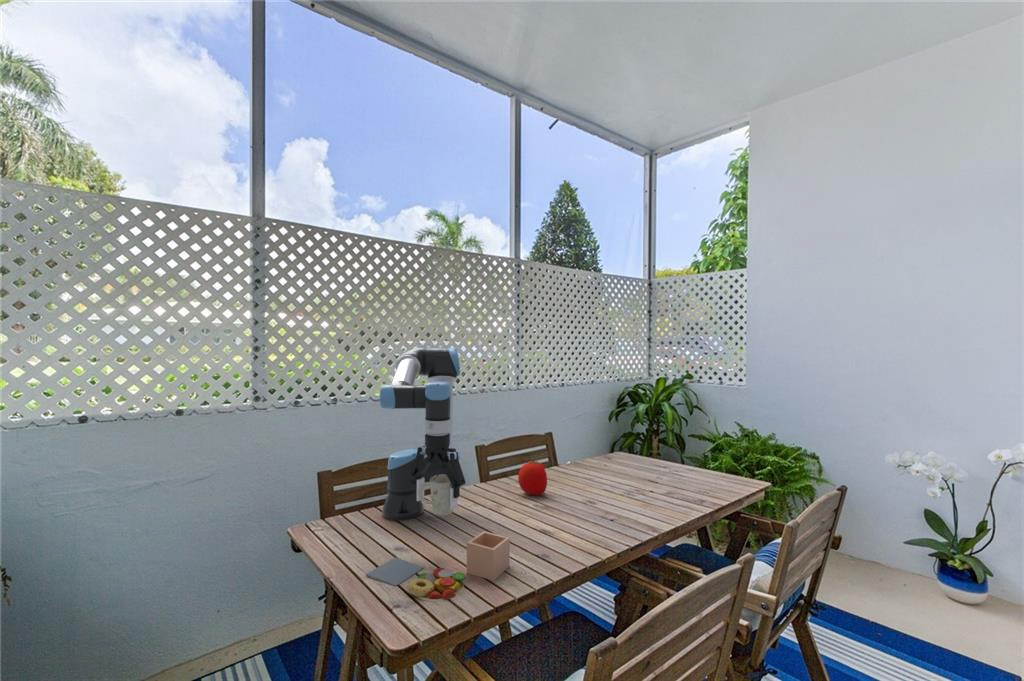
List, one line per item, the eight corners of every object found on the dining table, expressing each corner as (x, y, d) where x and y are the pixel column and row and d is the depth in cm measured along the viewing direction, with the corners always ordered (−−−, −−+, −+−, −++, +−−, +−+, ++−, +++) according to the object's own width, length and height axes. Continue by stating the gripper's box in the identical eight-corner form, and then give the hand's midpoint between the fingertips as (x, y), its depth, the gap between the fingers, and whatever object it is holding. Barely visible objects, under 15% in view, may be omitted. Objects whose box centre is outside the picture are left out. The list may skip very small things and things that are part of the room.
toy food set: (401, 599, 110) (401, 585, 110) (429, 573, 122) (429, 561, 122) (448, 611, 105) (448, 597, 105) (472, 583, 117) (473, 571, 117)
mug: (451, 518, 129) (452, 484, 129) (411, 514, 132) (411, 480, 131) (460, 507, 137) (461, 475, 137) (422, 503, 140) (423, 472, 140)
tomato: (552, 493, 188) (552, 460, 188) (539, 501, 178) (539, 466, 178) (526, 488, 194) (527, 455, 195) (512, 495, 185) (513, 461, 185)
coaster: (365, 576, 120) (365, 574, 120) (395, 559, 129) (395, 557, 129) (395, 587, 114) (396, 585, 114) (424, 569, 124) (424, 567, 124)
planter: (466, 575, 121) (466, 542, 121) (483, 562, 128) (484, 531, 128) (493, 584, 116) (493, 550, 117) (509, 570, 124) (509, 537, 124)
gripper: (398, 430, 137) (398, 499, 137) (463, 440, 125) (462, 516, 125) (415, 426, 143) (414, 492, 144) (477, 435, 131) (476, 507, 132)
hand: (436, 503), depth 134 cm, fingers closed on mug, 12 cm apart
